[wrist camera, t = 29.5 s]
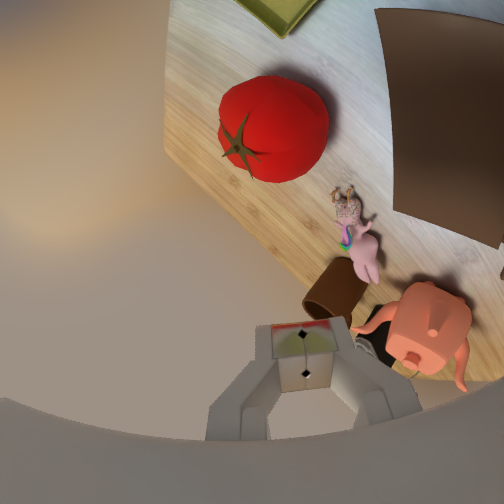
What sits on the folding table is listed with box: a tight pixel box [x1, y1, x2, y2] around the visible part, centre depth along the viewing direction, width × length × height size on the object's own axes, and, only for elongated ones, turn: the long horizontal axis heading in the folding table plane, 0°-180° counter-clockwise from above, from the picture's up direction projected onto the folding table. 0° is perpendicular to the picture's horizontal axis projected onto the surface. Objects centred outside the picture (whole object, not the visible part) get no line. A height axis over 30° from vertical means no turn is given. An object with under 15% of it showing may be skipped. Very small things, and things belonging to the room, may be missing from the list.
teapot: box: [351, 281, 472, 392], centre depth 33 cm, size 14×14×11 cm
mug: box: [302, 258, 368, 329], centre depth 46 cm, size 12×8×9 cm, turn 43°
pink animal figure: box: [330, 187, 379, 285], centre depth 36 cm, size 6×6×15 cm
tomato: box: [218, 75, 329, 183], centre depth 28 cm, size 12×12×11 cm
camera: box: [355, 305, 396, 368], centre depth 48 cm, size 15×7×10 cm, turn 44°
